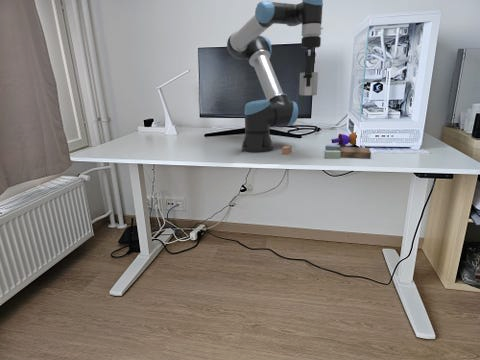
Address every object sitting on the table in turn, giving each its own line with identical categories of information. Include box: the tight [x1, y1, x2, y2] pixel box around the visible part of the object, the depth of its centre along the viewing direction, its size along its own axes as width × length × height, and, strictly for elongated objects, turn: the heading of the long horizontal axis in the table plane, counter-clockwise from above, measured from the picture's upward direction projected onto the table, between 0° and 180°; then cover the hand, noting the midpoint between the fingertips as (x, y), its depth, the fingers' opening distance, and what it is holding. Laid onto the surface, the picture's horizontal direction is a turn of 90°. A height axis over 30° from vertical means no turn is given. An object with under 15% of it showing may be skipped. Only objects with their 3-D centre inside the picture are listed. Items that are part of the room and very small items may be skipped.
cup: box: [298, 71, 319, 96], centre depth 130 cm, size 7×10×9 cm
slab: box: [340, 146, 372, 160], centre depth 134 cm, size 12×10×2 cm
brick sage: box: [324, 150, 341, 160], centre depth 131 cm, size 6×3×3 cm, turn 82°
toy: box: [331, 131, 357, 147], centre depth 153 cm, size 11×8×15 cm
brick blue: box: [324, 144, 341, 151], centre depth 142 cm, size 6×3×3 cm, turn 65°
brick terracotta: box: [281, 145, 293, 155], centre depth 142 cm, size 6×3×3 cm, turn 155°
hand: (308, 94), depth 131 cm, fingers closed on cup, 10 cm apart
